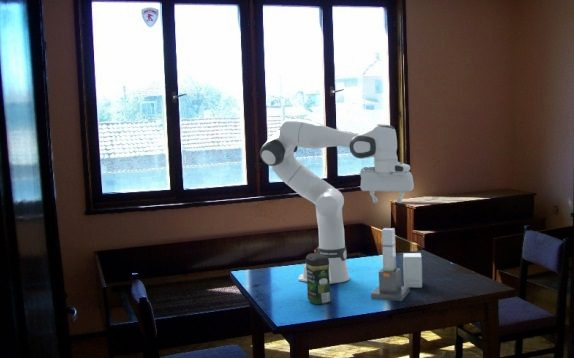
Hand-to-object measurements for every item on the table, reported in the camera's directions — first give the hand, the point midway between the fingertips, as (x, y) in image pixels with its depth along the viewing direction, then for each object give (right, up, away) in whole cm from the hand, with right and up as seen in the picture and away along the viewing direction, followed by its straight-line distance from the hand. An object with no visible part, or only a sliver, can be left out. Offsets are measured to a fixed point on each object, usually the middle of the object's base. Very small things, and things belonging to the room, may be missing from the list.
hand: (387, 202), depth 230 cm
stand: (+2, -36, +4) cm, 37 cm away
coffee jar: (-26, -38, +1) cm, 46 cm away
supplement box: (+13, -35, +16) cm, 40 cm away
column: (+2, -28, +3) cm, 28 cm away
